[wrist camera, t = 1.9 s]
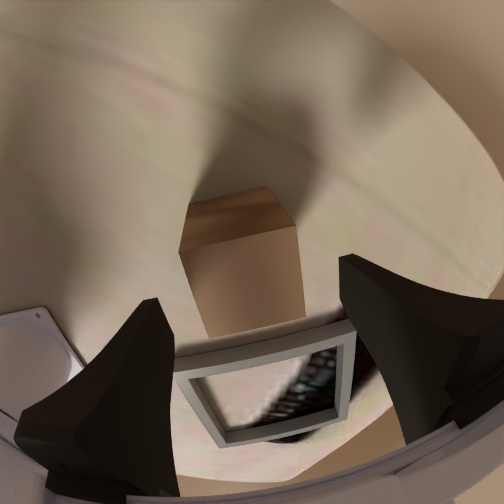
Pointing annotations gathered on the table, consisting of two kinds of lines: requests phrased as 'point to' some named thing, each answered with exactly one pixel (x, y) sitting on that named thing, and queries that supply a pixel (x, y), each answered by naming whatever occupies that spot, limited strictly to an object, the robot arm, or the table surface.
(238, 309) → the walnut block
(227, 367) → the tray frame
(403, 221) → the table surface
